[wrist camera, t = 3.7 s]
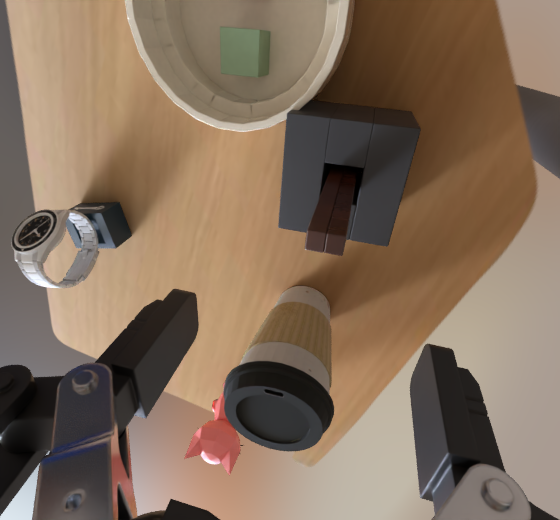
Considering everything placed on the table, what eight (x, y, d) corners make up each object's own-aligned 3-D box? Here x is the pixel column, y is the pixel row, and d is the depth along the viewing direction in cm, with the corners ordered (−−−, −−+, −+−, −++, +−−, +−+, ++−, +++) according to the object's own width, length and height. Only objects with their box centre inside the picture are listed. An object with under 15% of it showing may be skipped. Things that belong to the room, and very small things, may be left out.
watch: (112, 185, 38) (30, 229, 29) (136, 248, 42) (71, 303, 33) (72, 187, 40) (-18, 229, 31) (99, 248, 44) (26, 301, 35)
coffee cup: (263, 328, 44) (218, 438, 32) (265, 265, 39) (213, 367, 27) (339, 345, 43) (323, 467, 30) (352, 281, 37) (340, 398, 25)
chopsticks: (360, 153, 30) (346, 236, 17) (357, 166, 31) (342, 256, 18) (337, 150, 30) (307, 229, 17) (335, 163, 31) (304, 249, 18)
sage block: (270, 31, 26) (259, 29, 24) (268, 74, 28) (258, 77, 26) (234, 28, 27) (219, 26, 25) (234, 71, 29) (220, 73, 26)
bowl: (375, -127, 21) (374, -173, 17) (336, 128, 30) (329, 143, 25) (153, -128, 24) (100, -169, 19) (174, 108, 32) (141, 118, 28)
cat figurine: (215, 392, 54) (179, 470, 44) (219, 364, 50) (180, 443, 40) (257, 407, 53) (230, 489, 44) (265, 380, 50) (237, 463, 40)
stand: (412, 111, 28) (421, 128, 22) (386, 211, 32) (387, 247, 27) (304, 99, 29) (286, 112, 23) (295, 196, 34) (278, 227, 28)
